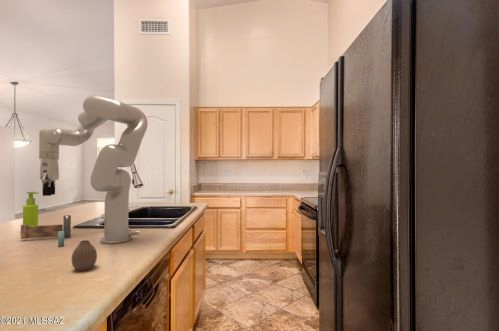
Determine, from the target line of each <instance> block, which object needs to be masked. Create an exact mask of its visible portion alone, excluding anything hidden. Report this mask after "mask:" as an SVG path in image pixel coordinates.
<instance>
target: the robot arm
mask: <svg viewBox="0 0 499 331" xmlns="http://www.w3.org/2000/svg"><path fill="white" fill-rule="evenodd" d="M82 108H83V111H82V112H80V113H79V114H78V117H77V119H78V120H77V121H78V122H79V124H80V127H78V128H77V129H75V130H72V129H68V128H67V129H65V128H58V127H57V128H56V127H54V128H51V129H40V130H39V133H38V138H39V143H38V145H39V146H38V159H39V160H40V165H39V177H40V179H39V180H41V182H42V187H41V188H42V197H46V196H54V195H55V194H56V180H59V179H60V170H59V169H60V168H59V160H60V146H69V147H70V146H71V147H77V146H80V145H81V144H84V143H85V142H87V141H88V140H90V139H91V137H92V136H93V134H94V132H95V129H97V128H98V127H100V126H101V125H103V124H104V123H106V122H108V121H112V122H114V123H119V124H125V125H127V127H126V128H125V129H124V130H123V132H122V133H121V136H120V138H119V141H118V143H117V144H114V143H112V144H111V143H110V144H106V145H105V146H104V147H102V148H101V150H100V151H99V153H98V155H97V157H96V160H95V164H94V166H93V170H92V171H91V172H92V173H91V175H90V185H91V187H92V188H93V190H95V191H96V192H99V193H101V192H102V193H104V192H106V194H105V196H104V222H103V223H104V229H103V230H104V232H103V233H104V236H103V237H101V238H100V239H99V240H100V243H102V244H107V245H110V244H111V245H113V244H120V243H125V242H128V241H131V240H132V239H133V236H139V235H140V230H137V229H134V230H132V229H131V228H130V227H129V204H130V202H129V201H130V200H129V199H130V198H129V197H130V195H129V194H130V188H131V181H132V178H131V175H130V173H129V172H128V171H127V170H126V169H123V168H129V167H131V166H133V164H135V161H136V159H137V155H138V154H139V151H140V147H141V144H142V141H143V139H144V136H145V134H146V132H147V128H148V118H147V116H146V114H145V113H144V111H142V110H141V109H139V108H137V107H135V106H133V105H130V104H127V103H125V102H123V101H120V100H115V99H111V98H107V97H104V96H99V95H89V96H87V97H86V98H85V99H84V101H83V102H82Z"/></svg>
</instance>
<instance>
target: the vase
mask: <svg viewBox="0 0 499 331" xmlns="http://www.w3.org/2000/svg"><path fill="white" fill-rule="evenodd" d="M97 258H98V253H97V250H96V248H95V246H93V244H92V243H91V242H90V240H88V239H84V240H81V241H80V242H79V243H78V245H77V246H76V247H75V249H74V250H73V252H72V255H71V264H72V267H73V268H74V269H75V270H76V271H77V272H84V271H88V270H89V271H90V270H91V269H92V268H93V267H94V266H95V264H96V262H97Z"/></svg>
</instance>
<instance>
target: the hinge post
mask: <svg viewBox="0 0 499 331" xmlns="http://www.w3.org/2000/svg"><path fill="white" fill-rule="evenodd" d="M71 222H72V216H71V214H69V215H68V214H67V215H66V214H65V215H63V223H62V224H63V231H64V239H70V238H72V237H71V236H72V229H71V228H72V226H71V224H72V223H71Z"/></svg>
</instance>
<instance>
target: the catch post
mask: <svg viewBox="0 0 499 331" xmlns="http://www.w3.org/2000/svg"><path fill="white" fill-rule="evenodd" d="M57 239H58V240H57V247H58V248H62V247H65V238H64V231H59V232H58V236H57Z"/></svg>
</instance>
